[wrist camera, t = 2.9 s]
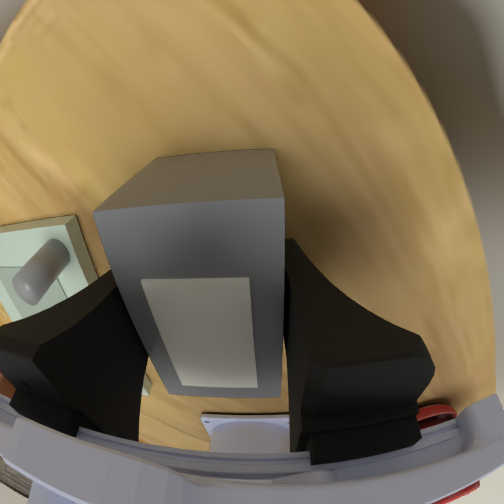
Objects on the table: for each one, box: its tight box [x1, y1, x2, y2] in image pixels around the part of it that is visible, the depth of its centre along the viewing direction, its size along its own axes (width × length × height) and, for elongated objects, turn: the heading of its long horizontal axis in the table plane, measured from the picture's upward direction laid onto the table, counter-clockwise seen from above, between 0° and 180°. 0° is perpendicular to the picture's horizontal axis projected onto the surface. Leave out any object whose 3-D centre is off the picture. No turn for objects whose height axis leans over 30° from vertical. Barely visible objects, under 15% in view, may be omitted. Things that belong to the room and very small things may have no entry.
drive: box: [93, 149, 285, 398], centre depth 10 cm, size 8×4×5 cm, turn 3°
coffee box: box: [0, 456, 33, 499], centre depth 24 cm, size 9×6×16 cm
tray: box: [0, 215, 152, 396], centre depth 14 cm, size 14×10×4 cm
